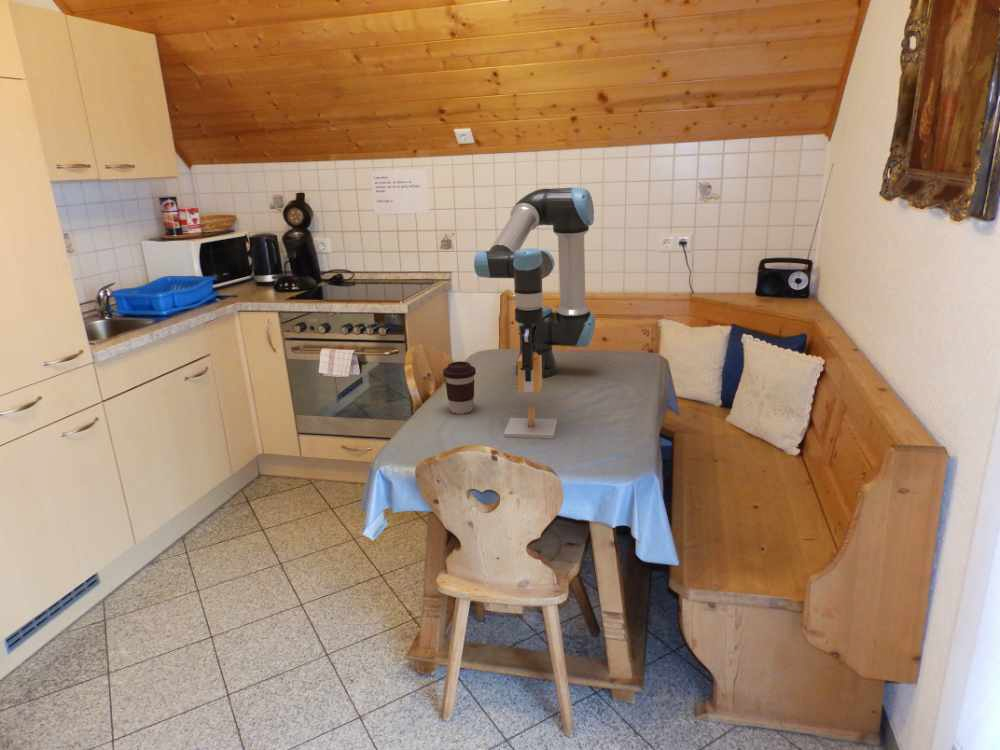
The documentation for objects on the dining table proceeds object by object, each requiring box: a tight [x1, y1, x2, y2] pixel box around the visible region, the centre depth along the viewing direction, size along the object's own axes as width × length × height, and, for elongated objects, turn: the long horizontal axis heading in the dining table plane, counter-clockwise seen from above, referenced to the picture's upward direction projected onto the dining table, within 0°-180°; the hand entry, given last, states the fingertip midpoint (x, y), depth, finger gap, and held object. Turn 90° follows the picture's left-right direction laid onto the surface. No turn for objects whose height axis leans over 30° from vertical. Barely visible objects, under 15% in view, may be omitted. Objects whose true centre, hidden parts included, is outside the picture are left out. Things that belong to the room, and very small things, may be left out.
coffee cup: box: [442, 361, 477, 415], centre depth 208 cm, size 10×10×15 cm
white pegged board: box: [503, 405, 558, 440], centre depth 193 cm, size 12×14×7 cm
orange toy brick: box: [517, 352, 543, 393], centre depth 188 cm, size 6×6×10 cm
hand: (530, 387), depth 190 cm, fingers closed on orange toy brick, 6 cm apart
